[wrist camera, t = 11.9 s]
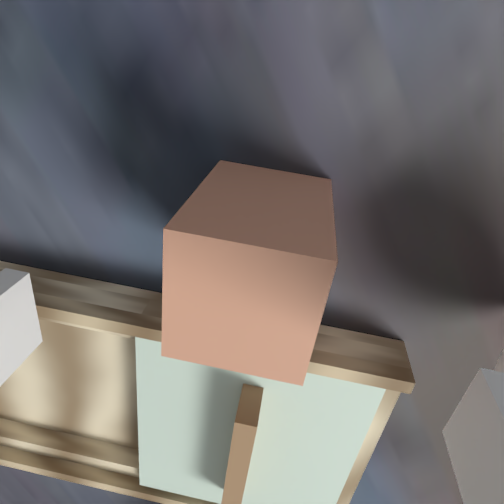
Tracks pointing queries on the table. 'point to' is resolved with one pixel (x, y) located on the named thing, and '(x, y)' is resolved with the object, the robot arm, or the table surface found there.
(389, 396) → the beige flat rectangular tray
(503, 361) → the spinning top
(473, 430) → the robot arm
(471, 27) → the table surface
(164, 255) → the block
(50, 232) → the table surface
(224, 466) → the lid
